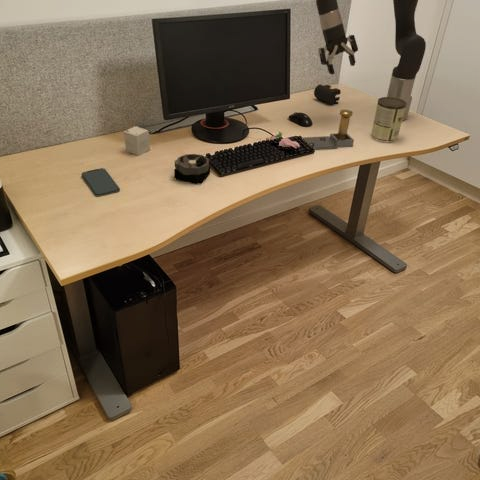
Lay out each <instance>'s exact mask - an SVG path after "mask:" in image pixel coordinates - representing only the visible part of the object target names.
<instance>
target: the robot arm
mask: <svg viewBox="0 0 480 480" xmlns="http://www.w3.org/2000/svg"><path fill="white" fill-rule="evenodd" d="M392 2H393V11H394V13H393V14H394V19H395V24H394V25H395V33H394V34H395V36H394V38H395V41H394V42H395V43H394V46H395V50H396V52H397V54H398V55H399V56H400V57H399V61H398V64H397V65H396V66H395V67H393V68H392V73H391V77H390V81H389V85H388V88H387V95H386V97H394V98H398V99H402V100H404V101H405V102H406V103H407V104H406V107H405V111H404V115H403V119H402V122H403V121H405V120H408V116H409V113H410V109H411V105H412V101H413V97H412V93H413V92H412V91H413V88H414V84H415V81H416V77H417V74H418V72H419V71H420V69H421V66H422V63H423V59H424V57H425V54H426V53H425V52H426V47H427V44H426V40H425V38H424V37H423V36H421V35H420V34H418V33H417V31H416V22H415V17H416V16H415V15H416V11H417V6H418V3H419V0H392ZM315 4H316V8H317V12H318V17H319V22H320V23H319V24H320V28H321V31H322V36H323V39H324V42H325V46H323V47H319V48H318V53H319V54H318V55H319V60H320V64H321V65H326V66H327V71H328V74H330V75H334V74H336V73H335V69H334V66H333V59H334V58H335V56H337V55H339V54H342V53H346V54H347V55H348V61H349V65H350V66H351V67H354V66H355V65H356V59H355V53H356V52H358V51H359V48H358V47H359V46H358V45H357V40H356V37H355V34H349V35H348V36H346V32H345V26H344V24H343V18H342V14H341V12H340V8H339V5H338V4H339V3H338V0H315ZM348 43H349V45H350V47H351V48H350V47H349V46H348V45H347V44H348ZM327 51H328V52H327ZM326 52H327V56H326Z"/></svg>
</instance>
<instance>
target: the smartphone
mask: <svg viewBox="0 0 480 480" xmlns="http://www.w3.org/2000/svg"><path fill="white" fill-rule="evenodd" d="M81 177H82V179H83V180H84V182H85V184H86V185H87V187H88V188H89V189H90V190H91V192H92V194H93V195H94V196H95V197H97V198H99V197H105V196H108V195H112V194H116V193H117V194H118V193H119V192H120V191H121V189H120V187H119V186H118V184H117V183H116V182H115V180H114V178H113V177H112V176H111V175H110V173H109V172H108V171H107V170H106V168H102V167H101V168H96V169H95V168H94V169H91V170H87V171H83V172H82V173H81Z"/></svg>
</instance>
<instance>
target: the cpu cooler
mask: <svg viewBox="0 0 480 480" xmlns="http://www.w3.org/2000/svg"><path fill="white" fill-rule="evenodd" d="M209 162H210V159H209V158H208V157H206V156H205V155H203V154H196V153H191V154H190V153H189V154H186V153H185V154H183V155H181V156H179V157H177V159H175V160H174V170H173V171H174V173H173V174H174V179H175V181H178V182H184V183H188V184H194V185H199V184H200V185H202V184H203V183H204V181H206V179H207V178H208V177H209V176H210V174H211V164H210V163H209Z"/></svg>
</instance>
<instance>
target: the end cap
mask: <svg viewBox="0 0 480 480" xmlns="http://www.w3.org/2000/svg"><path fill="white" fill-rule="evenodd" d="M313 95H314V98H316V99H317V100H318V101H320V102H323V103H325V104H328V105H331V106H334V105H338V104H339V101H340V96H339V95H341V89H340V88H332V86H331V85H329V84H325V85H322V84H317V86H316V87H315V88H314V90H313Z"/></svg>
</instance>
